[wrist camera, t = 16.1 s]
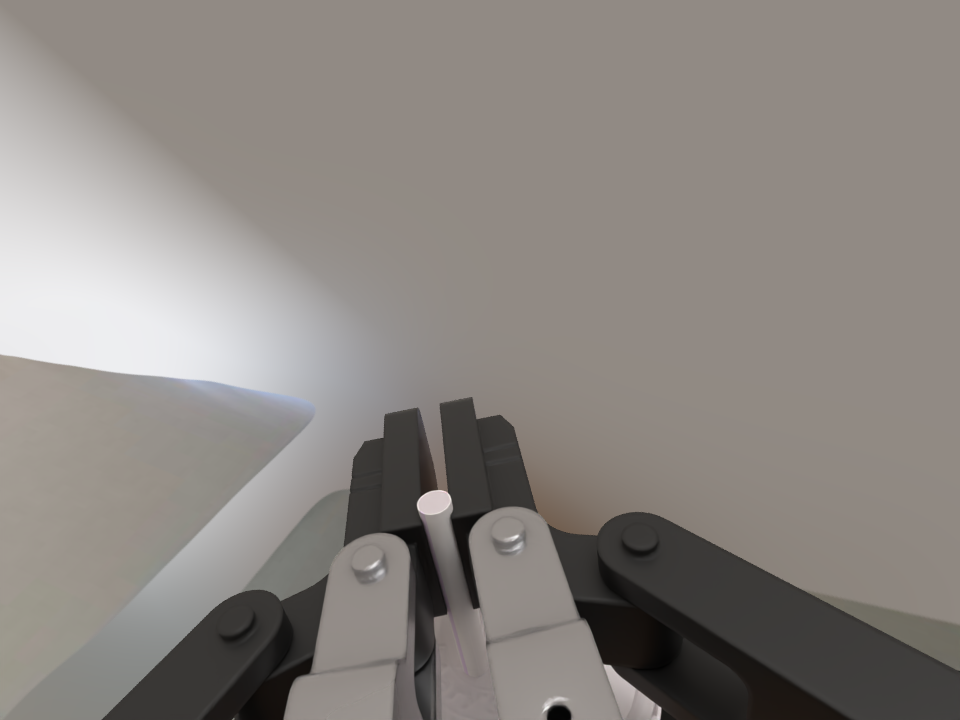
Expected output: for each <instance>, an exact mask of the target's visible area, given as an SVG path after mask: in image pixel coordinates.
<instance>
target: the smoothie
mask: <svg viewBox="0 0 960 720" xmlns="http://www.w3.org/2000/svg"><path fill="white" fill-rule="evenodd" d="M417 508H418V512H419V515H420V518H421V519H422V522H423V526H424V530H425V533H426V537H427V540H428V544H429V547H430V551H431V554H432V558H433V562H434V565H435V569H436V572H437V576H438V579H439V583H440V587H441V590H442V594H443V597H444V601H445V604H446V608H447V615H443V616H438V617H434V632H435V637H436V640H437V644H438V647H439V650H440V656H441V704H442V720H499V717H498V711H497V705H496V700H495V694H494V689H493V683H492V678H491V672H490V667H489V661H488V655H487V649H486V635H485V630H484V624H483V619H482V614H481V610H480V608H478V609H473V606H472V602H471V598H470V594H469V589H468V585H467V581H466V577H465V573H464V569H463V565H462V561H461V557H460V553H459V549H458V545H457V541H456V537H455V533H454V529H453V525H452V521H451V516H450V515H451V513H452V511H453V505H452V500H451V497H450V495H449V494H448V493H447V492H445V491H441V490H435V491H430V492H428V493H426V494H424V495H423V496H422V497H421V498H420V499H419V500H418V503H417ZM603 665H604V664H603ZM604 668H605V671H606V673H607V676H608V679H609V682H610V685H611V687H612V690H613V693H614V696H615V699H616V701H617V704H618V707H619V710H620V712H621V715H622V718H623V720H660V719H661V707H659V706H658V705H657V704H655V703H654V702H653V701H651V700H650V699H649V698H648V697H646V696H645V695H644V694H642V693H641V692H640V691H638V690H637V689H636V688H635V687H633V686H632V685H631V684H629V683H628V682H627V681H625V680H624V679H623V678H622V677H620V676H619V675H618V674H617V673H616V672H615V671H614V669H613V668H612V666H611V665H604Z"/></svg>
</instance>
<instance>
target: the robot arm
mask: <svg viewBox="0 0 960 720" xmlns="http://www.w3.org/2000/svg"><path fill="white" fill-rule="evenodd" d="M440 413H441V423H442V433H443V444H444V454H445V464H446V475H447V485H448V494H449V495H450V497H451V500H452V505H453V511H452V513H451V515H450V516H451V521H452V525H453V529H454V533H455V537H456V541H457V545H458V549H459V553H460V557H461V561H462V565H463V569H464V573H465V577H466V581H467V585H468V589H469V594H470V598H471V602H472V606H473V609H478V608H480V610H481V614H482V619H483V624H484V630H485V635H486V649H487V655H488V661H489V667H490V672H491V678H492V683H493V689H494V694H495V700H496V705H497V711H498V717H499V720H623V718H622V715H621V712H620V710H619V707H618V704H617V701H616V699H615V696H614V693H613V690H612V687H611V685H610V682H609V679H608V676H607V673H606V671H605V668H604V665H611V666H612V668H613V669H614V671H615V672H616V673H617V674H618V675H619V676H620V677H622V678H623V679H624V680H625V681H627V682H628V683H629V684H631V685H632V686H633V687H635V688H636V689H637V690H638V691H640V692H641V693H642V694H644V695H645V696H646V697H648V698H649V699H650V700H651V701H653V702H654V703H655V704H657V705H658V706H659V707H661V708H662V709H663V710H664V711H666V712H667V713H668V714H670V715H671V716H672V717H674V718H675V719H676V720H960V672H959V671H957V670H955V669H953V668H951V667H949V666H947V665H946V664H944V663H942V662H940V661H938V660H936V659H934V658H932V657H930V656H928V655H926V654H924V653H922V652H921V651H919V650H917V649H915V648H913V647H911V646H909V645H907V644H905V643H903V642H901V641H899V640H897V639H896V638H894V637H892V636H890V635H888V634H886V633H884V632H882V631H880V630H878V629H876V628H874V627H872V626H870V625H869V624H867V623H865V622H863V621H861V620H859V619H857V618H855V617H853V616H851V615H849V614H847V613H845V612H844V611H842V610H840V609H838V608H836V607H834V606H832V605H830V604H828V603H826V602H824V601H822V600H820V599H819V598H817V597H815V596H813V595H811V594H809V593H807V592H805V591H803V590H801V589H799V588H797V587H795V586H793V585H792V584H790V583H788V582H786V581H784V580H782V579H780V578H778V577H776V576H774V575H772V574H770V573H768V572H766V571H764V570H763V569H761V568H759V567H757V566H755V565H753V564H751V563H749V562H747V561H745V560H743V559H742V558H740V557H738V556H736V555H734V554H732V553H730V552H728V551H726V550H724V549H722V548H720V547H718V546H716V545H715V544H712V543H711V542H709V541H707V540H705V539H703V538H701V537H699V536H697V535H695V534H693V533H691V532H690V531H688V530H686V529H684V528H682V527H680V526H678V525H676V524H674V523H672V522H670V521H668V520H666V519H664V518H662V517H660V516H657V515H654V514H650V513H644V512H632V513H626V514H622V515H619V516H616V517H614V518H612V519H611V520H609V521H608V522H607V523H605V524H604V526H603V527H602V528H601V530H600V531H599V533H598V536H595V535H594V536H593V535H578V534H570V533H566V532H563V531H560V530H557V529H555V528H553V527H552V526H550V525H549V524H547V523H546V521H545V520H544V519H543V518H542V517H541V516H540V515H539V514H538V512H537V509H536V506H535V503H534V500H533V495H532V492H531V488H530V485H529V481H528V477H527V474H526V470H525V467H524V463H523V459H522V456H521V452H520V448H519V445H518V441H517V437H516V434H515V430H514V427H513V426H512V425H511V424H510V423H509V422H508V421H507V420H505V419H504V418H503V417H502V416H501V415H497V416H491V417H487V418H481V419H476V415H475V409H474V404H473V399H472V397H470V398H465V399H459V400H454V401H450V402H444V403H440ZM435 490H438V488H437V481H436V475H435V470H434V465H433V461H432V457H431V453H430V449H429V445H428V441H427V437H426V433H425V429H424V425H423V421H422V417H421V414H420V410H419V408H413V409H408V410H403V411H398V412H393V413H388V414H385V418H384V438H380V439H375V440H370V441H365V442H364V443H363V445H362V447H361V448H360V450H359V451H358V453H357V454H356V456H355V457H354V459H353V469H352V480H351V486H350V492H351V494H350V495H349V504H348V513H347V522H346V531H345V540H344V548H343V549H342V550H341V551H340V552H339V553H338V554H337V555H336V557H335V558H334V560H333V562H332V564H331V567H330V570H329V574H328V575H327V576H325V577H324V578H323V579H322V580H321V581H319V582H318V583H316V584H315V585H313V586H311V587H309V588H308V589H306V590H304V591H301V592H299V593H297V594H295V595H293V596H291V597H289V598H287V599H285V600H283V601H280V600H279V599H278V597H277V596H276V595H274V594H273V593H271V592H268V591H264V590H251V591H245V592H242V593H239V594H237V595H234V596H232V597H230V598H228V599H227V600H225V601H223V602H222V603H221V604H219V605H218V606H217V607H215V608H214V609H213V610H212V611H211V612H210V613H209V614H208V615H207V616H206V617H205V618H204V619H203V620H202V621H201V622H200V623H199V624H198V625H197V626H196V627H195V628H194V629H193V630H192V631H191V632H190V633H189V634H188V635H187V636H186V637H185V638H184V639H183V640H182V641H181V642H180V643H179V644H178V645H177V646H176V647H175V648H174V649H173V650H172V651H171V652H170V653H169V654H168V655H167V656H166V657H165V658H164V659H163V660H162V661H161V662H160V663H159V664H158V665H156V666H155V668H153V669H152V671H150V672H149V673H148V674H147V676H145V677H144V678H143V679H142V680H141V681H140V682H139V683H138V684H137V685H136V686H135V687H134V688H133V689H132V690H131V691H130V692H129V693H128V694H127V695H126V696H125V697H124V698H123V699H122V700H121V701H120V702H119V703H118V704H117V705H116V706H115V707H114V708H113V709H112V710H111V711H110V712H109V713H108V714H107V715H106V716H105V717H104V718H103V719H102V720H232V719H233V718H235V719H234V720H442V704H441V656H440V650H439V647H438V644H437V640H436V637H435V632H434V617H438V616H443V615H447V608H446V604H445V601H444V597H443V594H442V590H441V587H440V583H439V579H438V576H437V572H436V569H435V565H434V562H433V558H432V554H431V551H430V547H429V544H428V540H427V537H426V533H425V530H424V526H423V522H422V519H421V518H420V515H419V512H418V508H417V503H418V500H419V499H420V498H421V497H422V496H423V495H424V494H426V493H428V492H430V491H435ZM603 664H604V665H603Z"/></svg>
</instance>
